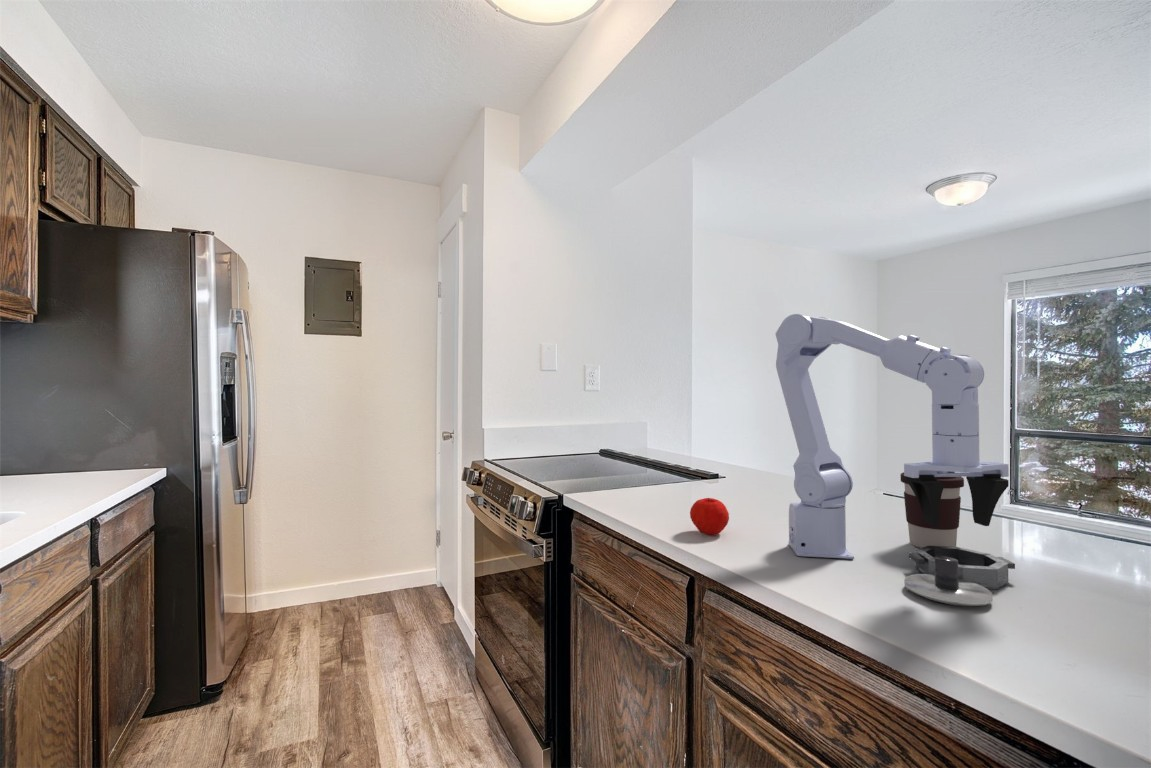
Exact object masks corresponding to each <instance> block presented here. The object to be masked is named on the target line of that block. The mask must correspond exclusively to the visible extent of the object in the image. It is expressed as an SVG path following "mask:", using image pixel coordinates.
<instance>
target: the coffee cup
mask: <svg viewBox="0 0 1151 768" xmlns="http://www.w3.org/2000/svg"><path fill="white" fill-rule="evenodd" d="M948 473H956V472H948ZM934 479H937V481H938V482H942V483H944V484H945V486H944V488H943V491H942V495H941V500H940V521H939V526H938V527H933V526H930V525H928V524H925V522H924V518H923V514H922V511H921V508H920V505H919V503H918V500H917V498H916V496H915V494H914V492H913V490H912V489H911V487H910V485H909V484H908V482H907V480H906V476H904V472H901V473H900V483H903V484H904V492H903V497H904V499H903V500H904V510H905V519H906V522H907V527H908V539H909V543H910V544H911V545H913V547H917V548H918V549H920V548H923V547H925V546H947V547H957V539H958V528H959V527H960V515H961V514H960V513H961V501H962V500H961V499H962V498H961V496H960V495H961V494H960V493H961V488H963V487H965V477H934Z"/></svg>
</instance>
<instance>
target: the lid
mask: <svg viewBox="0 0 1151 768" xmlns="http://www.w3.org/2000/svg"><path fill="white" fill-rule="evenodd" d="M934 559H935V574H922V573H915V574H910V575H907V576H905V578H904V581H903V582H904V583H903V585H904V586H905V588H906V589H907V590H909V591H910V592H912V593H913V594H915V595H918V596H920V597H922V598H925V599H928V600H931V601H932V602H933V601H934V602H937V603H941V604H945V605H951V606H958V607H979V606H987V605H990V604H991V603H993V601H994V594H993V592H992V591H990V589H986V588H985V587H983V586H981V585H978V584H976V583H973V582H970V581H967V580H963V579H959V577H958V560H957V559H954V558H951V557H945V556H936V557H934Z"/></svg>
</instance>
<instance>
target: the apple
mask: <svg viewBox="0 0 1151 768" xmlns="http://www.w3.org/2000/svg"><path fill="white" fill-rule="evenodd" d="M729 515H730V513H729V510H728V508H727V506H726V505H725V504H724V503H723V502H722V501H720V500H719V499H715V498H712V497H705V498H701V499H697V500H696V501H695V502H694V503H693V504H692V506H691V507H690V511H689V518H690V520H691V522H692V523H693V525H694V526H695V528H696V529H697V530H698V531H699V532H700V533H701V534H703V535H707V536H717V535H719V534H721V533H722V532H723V530H724V529H725V528H726V526H727V525H728V524H729V521H730V516H729Z"/></svg>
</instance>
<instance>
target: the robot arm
mask: <svg viewBox="0 0 1151 768" xmlns="http://www.w3.org/2000/svg"><path fill="white" fill-rule="evenodd" d="M774 333H775V338H776V341H777V353H776V361H775V368H776V372H777V375H778V379H779V383H780V387H781V390H782V394H783V398H784V401H785V405H786V408H787V412H788V415H789V416H788V417H789V420H790V425H791V427H792V431H793V435H794V438H795V443H796V445H797V449H798V453H799V455H798V456H797V458H796V460H795V462H794V463H793V466H792V467H793V469H794V480H793V488H794V491H795V493H796V495H797V497H798V498H799V500H800V502H791V503H790V504H789V505H788V506H789V507H788V545H789V546H790V548H791V549H792V551H793V552H794V553H795V555H796V556H797V557H805V558H806V557H810V558H812V557H813V558H828V559H829V558H830V559H832V558H833V559H845V560H847V559H848V560H853V559H855V556H854V555H853V554H852V553H851V551H849V550H848V549H847V538H846V537H847V534H846V533H847V531H846V530H847V529H846V528H847V526H846V503H847V502H846V501H847V498H846V497H847V496H849V494H850V493H851V492H852V490H853V485H854V484H853V483H854V482H853V479H852V476H851V474H850V473H849V471H848V470H847V469H846V467H845V466H844V465H843V462H842V459H841V457H840V456H839V455H838V454H837V453H836V452H835V451H834V450H833V448H831V445H830V442H829V438H828V434H827V431H826V429H825V424H824V420H823V418H822V415H821V411H820V407H819V404H818V399H817V397H816V392H815V389H814V387H813V381H812V380H811V375H810V372H809V368H810V367H811V366H812V364H813V362H814V361H815V359H817V358H818V357H819V356H820V355H822V353H824V352H825V351H826V350H827V349H828V348H829V347H831V346H832V345H839V344H842V345H845V346H847V347H850V348H853V349H856V350H858V351H861V352H864V353H868V354H870V355H873V356H876V357H879V358H880V362H881V364H882V365H883V367H884V368H885V369H888V370H891V371H893V372H896V373H898V374H901V375H903V376H904V377H905V376H906V377H907V378H910V379H912V380H916V381H917V382H920V383H922V384H925V385H926V386H927V387H928V389H930V391H931V432H932V435H931V436H932V438H931V440H932V441H931V442H932V443H931V445H932V451H931V452H932V461H923V462H912V463H911V462H909V463H908V462H907V463H903V466H904V467H903V473H904V476H906V480H907V482H908V484H909V485H910V487H911V489H912V490H913V492H914V494H915V496H916V498H917V500H918V503H919V505H920V508H921V511H922V514H923V518H924V522H925V524H928V525H930V526H933V527H938V526H939V521H940V500H941V495H942V491H943V488H944V486H945V484H944V483H942V482H938V481H937V479H934V477H963V478H965V477H966V482H967V483H968V487H969V491H970V497H971V504H972V505H971V506H972V507H971V508H972V518H973V522H974V524H978V525H981V526H983V527H990V524H991V520H992V517H993V514H994V511H995V509H996V506H997V503H998V502H999V500H1000V498H1001V496H1002V495H1003V494H1004V492H1005V491H1006V490H1007V489H1008V487H1009V486H1010V485H1009V479H1007V478H1008V477H1009V464H1008V463H1004V462H998V461H997V462H995V461H994V462H992V461H991V462H989V461H980V407H979V406H980V404H979V387H980V386H981V385H982V383H983V381H984V379H985V370H984V367H983V366H982V364H981V363H980V362H979V361H978V360H976V359H974V358H972V357H971V356H970V355H968V354H955V355H954V354H953V355H952V354H951V350H952V349H951V348H948V347H946V346H941V347H936V346H933V345H930V344H927V343H924V342H921V341H920V336H917V335H914V334H908V335H907V336H905V335H899V336H896V337H893V338H891V339H889V338H886V337H883V336H882V335H879V334H876V333H874V332H871V331H868V330H866V329H863V328H861V327H859V326H856V325H854V324H851V323H850V322H849V323H848V322H846V321H842V320H836V319H831V318H829V317H823V316H819V317H818V316H809V315H804V314H800V313H793V314H790V315H788V316H786V317H785V318H784V319H783V320H782V322H781V324H780V325H779V326H778V328H777V330H776V331H775V332H774ZM948 472H955V473H948Z"/></svg>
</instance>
